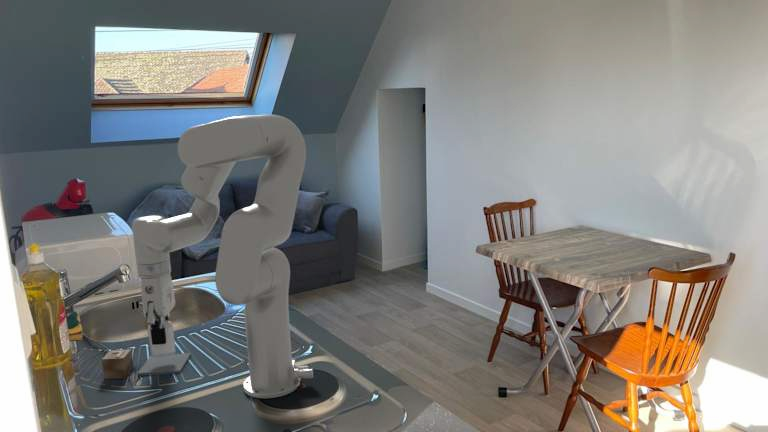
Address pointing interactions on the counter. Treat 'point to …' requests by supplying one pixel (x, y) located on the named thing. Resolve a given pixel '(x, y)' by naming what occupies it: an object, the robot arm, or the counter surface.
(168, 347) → the eye dropper bottle
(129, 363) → the walnut cube
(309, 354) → the counter surface
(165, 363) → the slate mat
